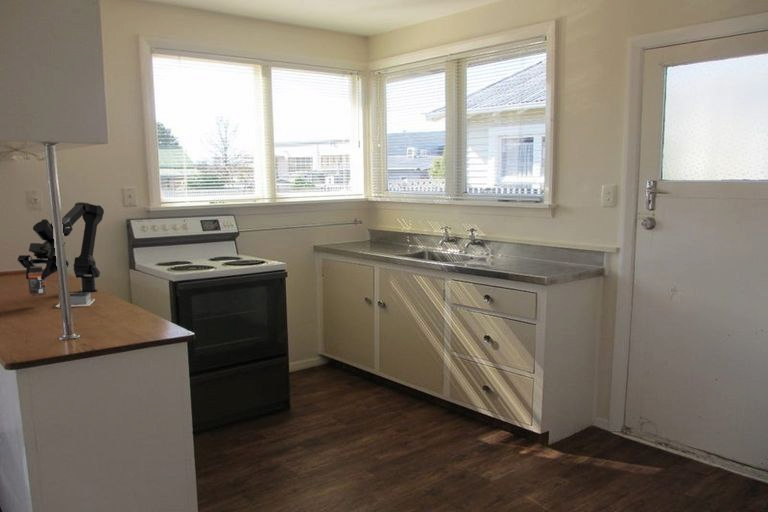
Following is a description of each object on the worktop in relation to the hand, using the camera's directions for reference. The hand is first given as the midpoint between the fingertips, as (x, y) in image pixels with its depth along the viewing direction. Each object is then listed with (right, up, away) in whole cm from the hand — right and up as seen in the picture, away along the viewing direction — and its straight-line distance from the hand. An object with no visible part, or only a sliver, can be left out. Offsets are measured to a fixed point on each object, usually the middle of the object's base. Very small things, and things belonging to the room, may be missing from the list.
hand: (34, 279), depth 241 cm
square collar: (+12, -10, +7) cm, 18 cm away
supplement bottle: (0, -7, +2) cm, 7 cm away
